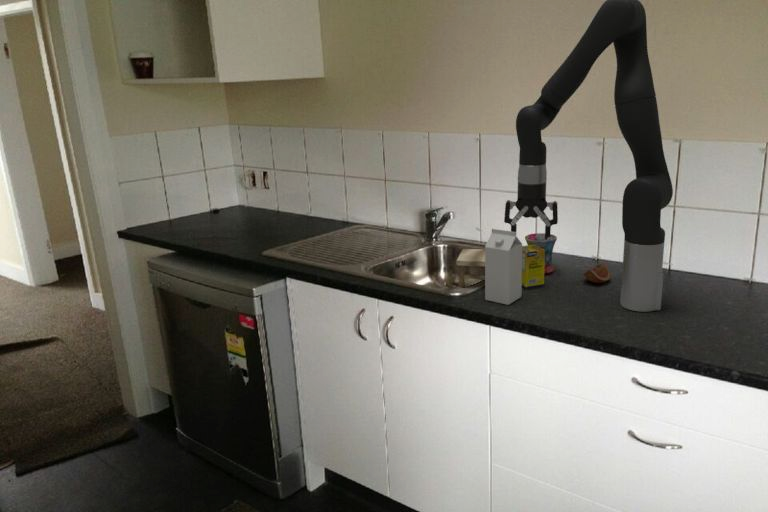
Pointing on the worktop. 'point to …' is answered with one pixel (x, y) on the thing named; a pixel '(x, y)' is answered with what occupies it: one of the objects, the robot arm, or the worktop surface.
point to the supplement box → (533, 266)
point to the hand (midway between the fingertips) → (530, 238)
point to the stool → (470, 264)
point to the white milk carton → (503, 267)
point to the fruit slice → (598, 273)
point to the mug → (543, 247)
